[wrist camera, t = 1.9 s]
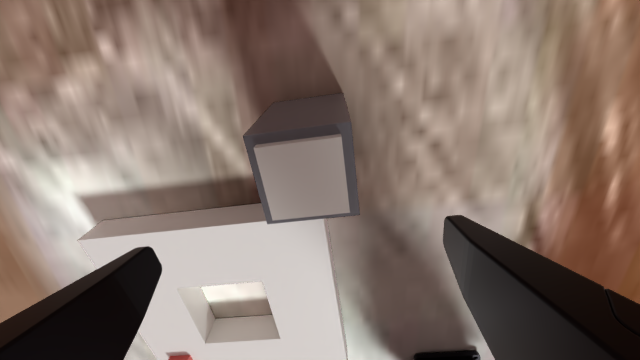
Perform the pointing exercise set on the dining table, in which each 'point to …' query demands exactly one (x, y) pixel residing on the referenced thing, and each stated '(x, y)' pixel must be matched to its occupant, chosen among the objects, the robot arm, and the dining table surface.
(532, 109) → the dining table surface
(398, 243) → the dining table surface
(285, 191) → the plug
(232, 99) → the dining table surface
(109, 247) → the socket plate
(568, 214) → the dining table surface
